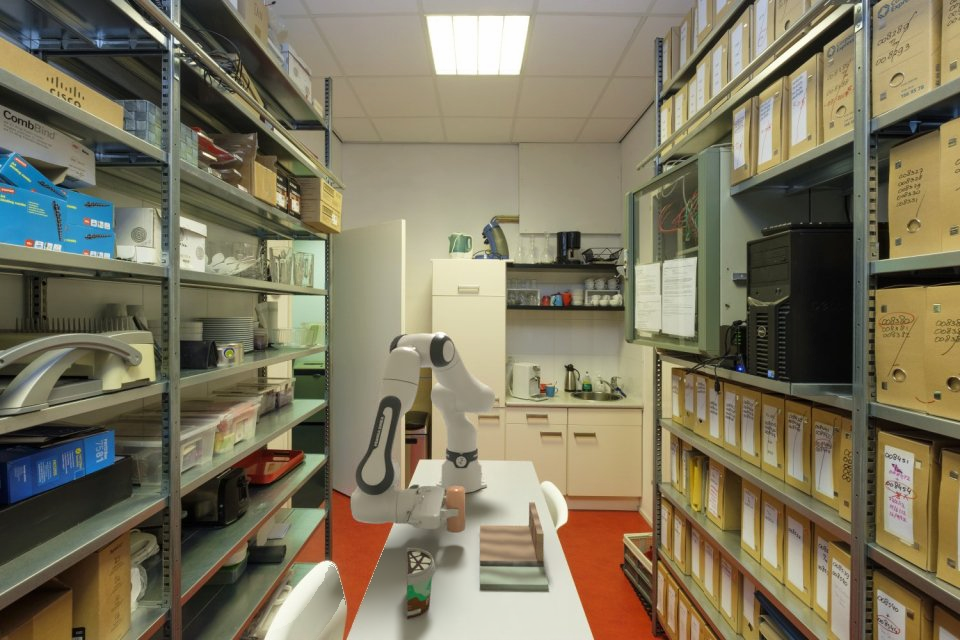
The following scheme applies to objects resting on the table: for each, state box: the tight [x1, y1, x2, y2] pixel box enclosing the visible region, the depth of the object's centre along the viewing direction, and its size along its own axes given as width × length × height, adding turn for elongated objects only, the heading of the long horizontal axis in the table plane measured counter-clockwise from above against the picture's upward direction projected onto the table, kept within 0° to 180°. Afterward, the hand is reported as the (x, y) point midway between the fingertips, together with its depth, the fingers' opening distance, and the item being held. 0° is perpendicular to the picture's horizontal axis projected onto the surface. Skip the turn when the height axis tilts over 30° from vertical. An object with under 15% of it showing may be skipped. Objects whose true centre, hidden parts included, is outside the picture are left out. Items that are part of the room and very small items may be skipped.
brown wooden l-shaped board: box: [479, 501, 549, 591], centre depth 124 cm, size 29×16×9 cm, turn 0°
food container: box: [406, 547, 436, 620], centre depth 104 cm, size 12×6×10 cm, turn 9°
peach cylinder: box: [445, 486, 466, 533], centre depth 131 cm, size 5×5×11 cm
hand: (459, 506), depth 131 cm, fingers closed on peach cylinder, 5 cm apart
